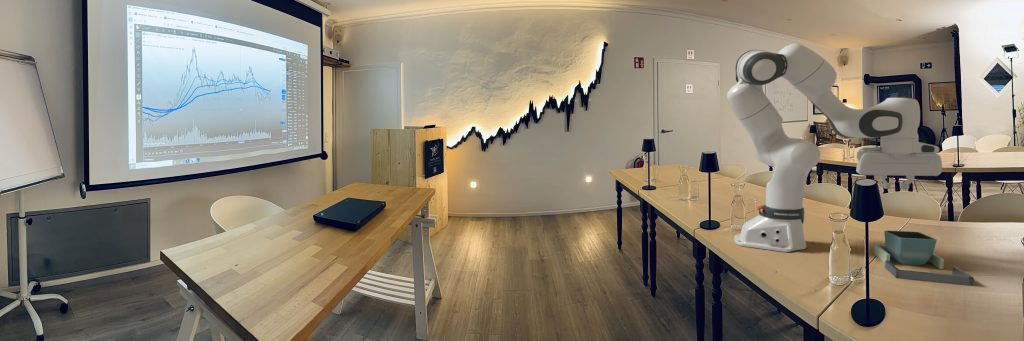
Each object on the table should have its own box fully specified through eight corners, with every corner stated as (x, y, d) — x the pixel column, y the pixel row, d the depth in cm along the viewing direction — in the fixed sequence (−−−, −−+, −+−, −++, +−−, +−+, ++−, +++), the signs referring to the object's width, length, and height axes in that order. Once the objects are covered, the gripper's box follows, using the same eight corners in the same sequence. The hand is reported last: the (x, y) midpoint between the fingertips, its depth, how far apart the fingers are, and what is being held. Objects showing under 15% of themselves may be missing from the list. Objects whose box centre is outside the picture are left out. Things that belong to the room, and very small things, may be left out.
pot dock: (896, 278, 111) (896, 270, 110) (884, 268, 118) (885, 260, 118) (972, 286, 104) (973, 277, 103) (955, 275, 111) (956, 266, 111)
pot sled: (886, 264, 120) (887, 245, 120) (871, 251, 132) (872, 233, 131) (943, 269, 115) (944, 249, 114) (922, 255, 126) (924, 237, 125)
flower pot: (916, 258, 124) (918, 231, 123) (935, 269, 116) (938, 239, 115) (881, 257, 127) (883, 230, 126) (898, 266, 119) (899, 238, 118)
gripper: (860, 148, 130) (858, 189, 132) (946, 147, 121) (942, 191, 122) (854, 146, 136) (852, 186, 137) (936, 145, 126) (933, 188, 128)
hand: (895, 188), depth 130 cm, fingers open, 3 cm apart
